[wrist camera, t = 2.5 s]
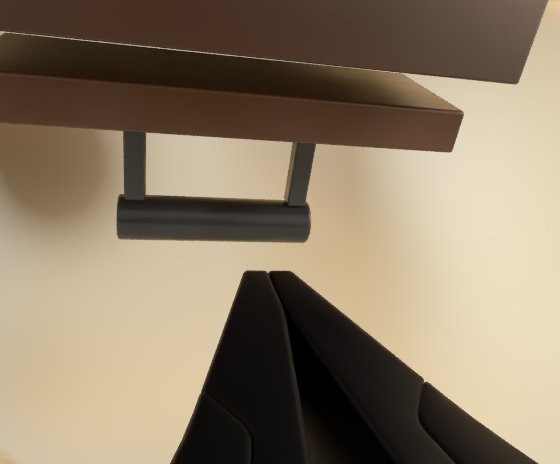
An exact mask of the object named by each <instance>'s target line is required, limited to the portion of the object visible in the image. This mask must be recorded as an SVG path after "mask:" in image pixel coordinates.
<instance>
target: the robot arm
mask: <svg viewBox="0 0 560 464" xmlns="http://www.w3.org/2000/svg"><path fill="white" fill-rule="evenodd" d="M170 464H538V463H537V462H535V461H534V460H532V459H531V458H529V457H528V456H526V455H525V454H524V453H522V452H520V451H519V450H518V449H516V448H515V447H513V446H512V445H510V444H509V443H508V442H506V441H505V440H503V439H502V438H501V437H499V436H498V435H496V434H495V433H493V432H492V431H491V430H489V429H488V428H486V427H485V426H484V425H482V424H481V423H479V422H478V421H477V420H475V419H474V418H473V417H471V416H470V415H469V414H467V413H466V412H465V411H464V410H462V409H461V408H460V407H459V406H457V405H456V404H455V403H453V402H452V401H451V400H450V399H448V398H447V397H445V396H444V395H443V394H442V393H441V392H439V391H438V390H437V389H436V388H434V387H433V386H432V385H431V384H430V383H428V382H424V379H423V378H422V377H421V376H419V375H418V374H417V373H416V372H415V371H413V370H412V369H411V368H410V367H408V366H407V365H406V364H405V363H403V362H402V361H401V360H400V359H399V358H397V357H396V356H395V355H394V354H392V353H391V352H390V351H389V350H387V349H386V348H385V347H384V346H383V345H381V344H380V343H379V342H378V341H376V340H375V339H374V338H373V337H372V336H370V335H369V334H368V333H367V332H365V331H364V330H363V329H361V328H360V327H359V326H358V325H357V324H356V323H354V322H353V321H352V320H351V319H349V318H348V317H347V316H346V315H344V314H343V313H342V312H341V311H340V310H338V309H337V308H336V307H335V306H333V305H332V304H331V303H330V302H328V301H327V300H326V299H325V298H324V297H322V296H321V295H320V294H319V293H317V292H316V291H315V290H314V289H312V288H311V287H310V286H309V285H307V284H306V283H305V282H304V281H303V280H301V279H300V278H299V277H298V276H296V275H295V274H294V273H293V272H291V271H270V272H269V273H267V272H266V271H245V272H244V273H243V276H242V279H241V282H240V285H239V287H238V290H237V293H236V296H235V299H234V301H233V304H232V307H231V310H230V313H229V315H228V318H227V321H226V324H225V326H224V329H223V332H222V335H221V338H220V340H219V343H218V346H217V349H216V352H215V354H214V357H213V360H212V363H211V365H210V368H209V371H208V374H207V377H206V379H205V382H204V385H203V388H202V391H201V394H200V396H199V398H198V401H197V404H196V406H195V409H194V412H193V415H192V417H191V419H190V422H189V424H188V427H187V429H186V431H185V434H184V436H183V439H182V441H181V443H180V445H179V447H178V449H177V451H176V453H175V455H174V457H173V459H172V461H171V463H170Z"/></svg>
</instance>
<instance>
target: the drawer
mask: <svg viewBox="0 0 560 464" xmlns="http://www.w3.org/2000/svg"><path fill="white" fill-rule="evenodd" d="M463 116H464V113H463V111H461V110H460V109H458V108H456V107H455V106H453V105H452V104H450V103H448V102H447V101H445V100H444V99H442V98H440V97H439V96H437V95H435V94H434V93H432V92H430V91H429V90H427V89H426V88H424V87H422V86H421V85H419V84H418V83H416V82H414V81H413V80H411V79H410V78H408V77H406V76H405V75H403V74H398V73H390V72H379V71H370V70H361V69H351V68H341V67H332V66H322V65H312V64H302V63H293V62H283V61H273V60H263V59H254V58H244V57H235V56H225V55H216V54H206V53H196V52H187V51H176V50H167V49H158V48H148V47H138V46H129V45H119V44H109V43H100V42H89V41H80V40H70V39H61V38H51V37H41V36H31V35H23V34H13V33H4V34H2V35H1V36H0V123H10V124H26V125H41V126H57V127H71V128H72V127H73V128H86V129H87V128H88V129H101V130H117V131H123V143H124V144H123V147H124V194H120V195H119V197H118V203H117V236H118V238H119V239H126V240H179V241H181V240H182V241H185V240H186V241H233V242H235V241H236V242H287V243H304V242H306V241H307V239H308V237H309V234H310V228H311V213H310V208H309V205H308V203H307V202H306V196H307V190H308V185H309V179H310V174H311V168H312V163H313V157H314V152H315V146H316V144H330V145H345V146H359V147H360V146H361V147H375V148H389V149H404V150H420V151H435V152H452V150H453V147H454V144H455V140H456V138H457V134H458V131H459V128H460V125H461V122H462V119H463ZM146 132H147V133H162V134H177V135H193V136H207V137H223V138H238V139H253V140H269V141H283V142H293V145H292V151H291V157H290V164H289V170H288V177H287V183H286V190H285V196H284V198H285V200H263V199H237V198H211V197H185V196H159V195H145V194H146Z"/></svg>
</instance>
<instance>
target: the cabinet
mask: <svg viewBox="0 0 560 464" xmlns="http://www.w3.org/2000/svg"><path fill="white" fill-rule="evenodd" d="M547 2H548V0H0V31H6V32H16V33H26V34H36V35H45V36H54V37H65V38H74V39H83V40H93V41H103V42H112V43H122V44H131V45H141V46H151V47H160V48H170V49H179V50H189V51H199V52H208V53H218V54H227V55H228V54H229V55H237V56H247V57H256V58H266V59H276V60H285V61H295V62H305V63H314V64H324V65H333V66H343V67H353V68H362V69H372V70H382V71H391V72H400V73H410V74H420V75H429V76H439V77H449V78H458V79H468V80H477V81H487V82H496V83H507V84H517V83H518V82H519V79H520V77H521V74H522V71H523V68H524V66H525V63H526V60H527V57H528V54H529V52H530V49H531V46H532V44H533V41H534V38H535V35H536V33H537V30H538V27H539V24H540V22H541V19H542V16H543V13H544V11H545V8H546V5H547Z"/></svg>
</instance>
